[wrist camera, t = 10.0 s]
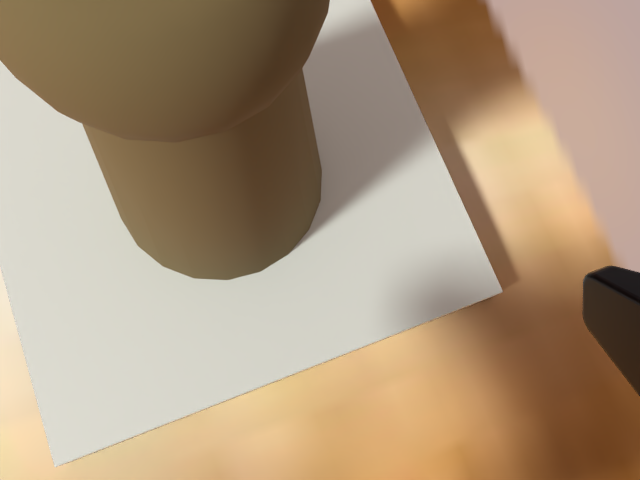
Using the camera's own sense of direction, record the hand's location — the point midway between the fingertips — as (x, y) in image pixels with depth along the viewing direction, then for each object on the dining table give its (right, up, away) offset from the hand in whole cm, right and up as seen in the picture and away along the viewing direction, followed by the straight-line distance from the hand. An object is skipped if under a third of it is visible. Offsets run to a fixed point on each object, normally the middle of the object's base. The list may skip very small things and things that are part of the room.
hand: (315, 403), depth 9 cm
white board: (-4, +7, +11) cm, 13 cm away
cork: (-3, +4, +9) cm, 11 cm away
